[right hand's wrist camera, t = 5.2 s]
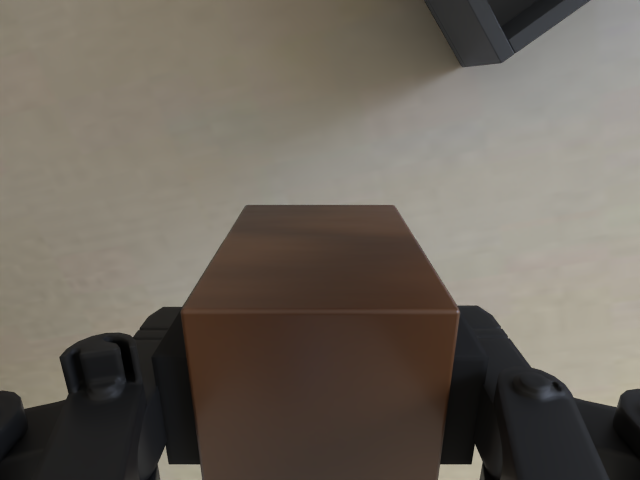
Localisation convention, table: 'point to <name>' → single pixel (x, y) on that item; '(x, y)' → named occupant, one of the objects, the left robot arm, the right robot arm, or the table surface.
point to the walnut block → (320, 348)
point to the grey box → (496, 25)
